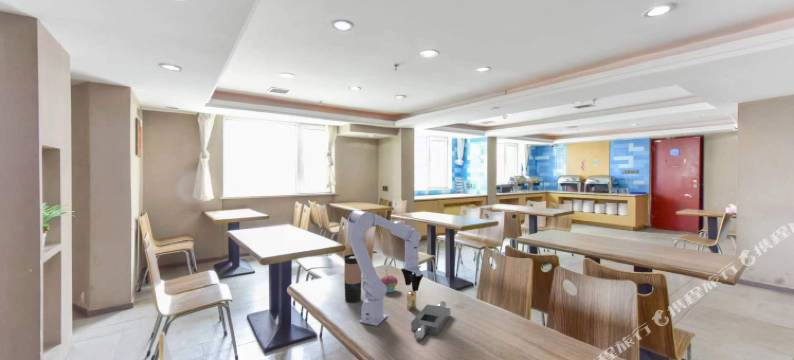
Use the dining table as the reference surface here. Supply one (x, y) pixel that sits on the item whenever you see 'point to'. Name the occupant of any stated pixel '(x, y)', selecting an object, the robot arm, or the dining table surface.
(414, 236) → the robot arm
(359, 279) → the travel mug
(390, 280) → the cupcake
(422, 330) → the junction block
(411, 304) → the cylinder
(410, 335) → the dining table surface
